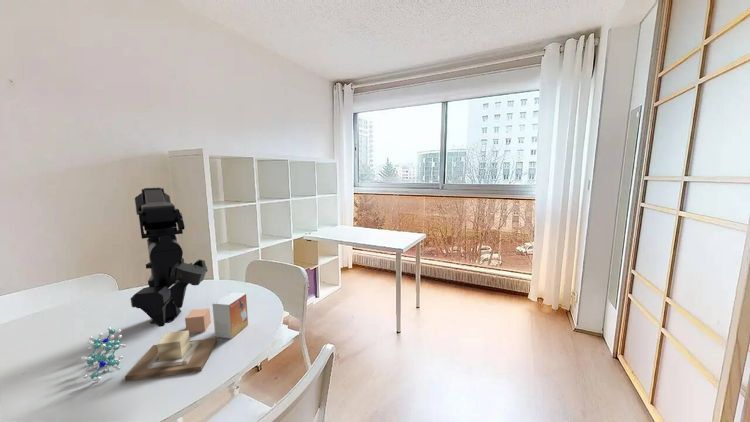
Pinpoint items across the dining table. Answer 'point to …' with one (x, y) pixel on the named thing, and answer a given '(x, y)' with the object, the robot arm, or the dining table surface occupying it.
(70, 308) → the dining table surface
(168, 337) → the maple block
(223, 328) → the small box
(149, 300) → the robot arm
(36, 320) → the dining table surface
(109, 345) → the molecule model
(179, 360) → the walnut board
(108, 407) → the dining table surface
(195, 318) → the terracotta block
